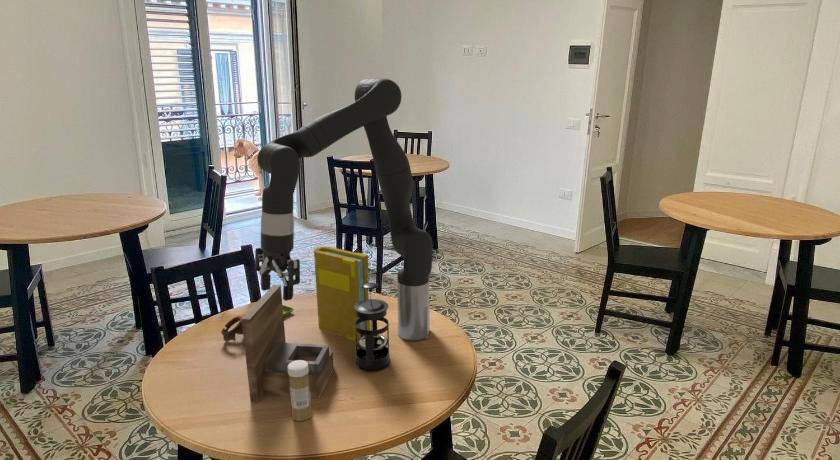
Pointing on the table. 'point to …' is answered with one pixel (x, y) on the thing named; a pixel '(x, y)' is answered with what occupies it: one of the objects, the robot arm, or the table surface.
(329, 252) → the book
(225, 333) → the pottery mug
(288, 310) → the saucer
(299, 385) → the sprinkles bottle
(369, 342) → the french press
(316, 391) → the brown wooden holder
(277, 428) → the table surface
